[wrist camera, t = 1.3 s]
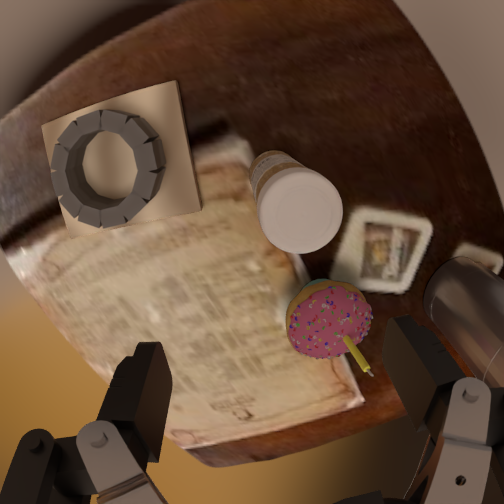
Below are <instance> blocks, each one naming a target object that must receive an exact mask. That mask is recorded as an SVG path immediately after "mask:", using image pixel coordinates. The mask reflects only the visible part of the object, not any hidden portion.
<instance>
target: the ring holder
mask: <svg viewBox="0 0 504 504" xmlns="http://www.w3.org/2000/svg"><path fill="white" fill-rule="evenodd" d="M42 131H43V137H44V142H45V146H46V151H47V156H48V160H49V164H50V169H51V173H50V175H51V179H52V182H53V186H54V190H55V194H56V197H58V199H59V203H60V206H61V210H62V213H63V216H64V220H65V223H66V226H67V229H68V232H69V235H70V238H71V239H73V238H77V237H81V236H86V235H90V234H94V233H98V232H103V231H107V230H112V229H116V228H121V227H125V226H130V225H135V224H139V223H144V222H149V221H154V220H158V219H163V218H168V217H173V216H178V215H183V214H189V213H194V212H199V211H201V210H202V208H203V207H202V203H201V198H200V193H199V189H198V184H197V179H196V174H195V169H194V165H193V160H192V155H191V150H190V145H189V139H188V134H187V129H186V124H185V119H184V113H183V108H182V103H181V97H180V92H179V86H178V82H177V81H176V80H174V81H170V82H166V83H162V84H159V85H155V86H151V87H148V88H144V89H140V90H137V91H134V92H130V93H127V94H124V95H121V96H118V97H114V98H111V99H108V100H106V101H103V102H100V103H97V104H94V105H91V106H89V107H86V108H83V109H81V110H78V111H75V112H73V113H70V114H68V115H65V116H63V117H60V118H58V119H56V120H53V121H51V122H49V123H46V124H44V125H42Z"/></svg>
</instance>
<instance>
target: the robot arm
mask: <svg viewBox="0 0 504 504" xmlns="http://www.w3.org/2000/svg"><path fill="white" fill-rule="evenodd" d="M423 305H424V310H425V312H426V314H427V315H428V316H429V317H430V319H431V320H432V321H433V322H434V323H435V325H436V326H437V327H438V328H439V330H440V331H441V332H442V333H443V335H444V336H445V337H446V338H447V340H448V341H449V342H450V344H451V345H452V346H453V347H454V349H455V350H456V351H457V352H458V354H459V355H460V356H461V358H462V359H463V360H464V362H465V363H466V364H467V366H468V367H469V368H470V370H471V371H472V372H473V374H474V375H475V376H476V378H477V379H476V378H471V377H466V376H465V374H464V373H463V371H462V370H461V369H460V367H459V366H458V364H457V363H456V362H455V360H454V359H453V358H452V356H451V355H450V354H449V352H448V351H446V348H445V347H444V345H443V344H441V341H440V340H439V339H438V338H437V336H436V335H435V334H434V333H433V332H432V331H430V330H429V329H427V328H426V327H424V326H418V325H417V323H416V322H415V321H414V319H413V318H412V317H411V316H410V315H404V316H398V317H393V318H390V319H389V320H388V323H387V328H386V334H385V339H384V344H383V350H382V359H383V364H384V367H385V369H386V371H387V373H388V375H389V377H390V379H391V381H392V383H393V385H394V387H395V389H396V391H397V393H398V395H399V397H400V399H401V401H402V403H403V405H404V407H405V409H406V411H407V413H408V415H409V417H410V419H411V422H412V423H413V426H414V428H415V430H416V432H419V431H423V430H426V429H428V431H429V433H430V436H429V437H428V440H427V443H426V446H425V449H424V452H423V455H422V458H421V461H420V464H419V467H418V469H417V472H416V475H415V477H414V480H413V482H412V484H411V486H410V488H409V489H408V491H407V493H406V495H405V497H404V499H397V498H383V497H382V494H381V491H380V490H378V491H375V492H371V493H367V494H363V495H359V496H355V497H350V498H346V499H343V500H341V501H338V502H336V503H334V504H481V502H482V498H483V494H484V490H485V485H486V480H487V475H488V471H489V465H490V466H491V468H492V470H493V473H494V475H495V477H496V480H497V482H498V484H499V487H500V489H501V492H502V494H503V497H504V280H503V279H501V278H500V277H499V276H497V275H496V274H495V273H494V272H492V271H491V270H490V269H488V268H487V267H486V266H484V265H483V264H482V263H480V262H478V263H475V262H473V261H472V260H471V259H469V258H466V257H457V258H453V259H451V260H449V261H447V262H446V263H445V264H443V265H442V266H441V267H440V268H439V269H438V270H437V271H436V272H435V273H434V275H433V276H432V277H431V279H430V281H429V283H428V285H427V287H426V290H425V294H424V300H423ZM109 386H110V388H108V390H107V393H106V395H105V399H104V401H103V403H102V406H101V409H100V411H99V414H98V417H97V419H96V421H93V422H90V423H88V424H86V425H85V426H84V427H83V428H82V429H81V430H80V431H79V433H78V435H77V436H73V437H66V438H57V439H54V437H53V436H52V435H51V434H50V433H49V432H48V431H46V430H44V429H34V430H31V431H29V432H27V433H26V434H25V435H24V436H23V437H22V438H21V440H20V442H19V444H18V447H17V449H16V452H15V454H14V457H13V459H12V462H11V465H10V468H9V470H8V473H7V476H6V478H5V481H4V484H3V487H2V490H1V493H0V504H90V500H91V495H92V494H99V497H97V503H98V504H168V502H167V501H166V500H165V498H164V497H163V496H162V494H161V493H160V492H159V490H158V488H157V487H156V486H155V484H154V483H153V481H152V480H151V478H150V477H149V475H148V474H147V473H146V468H147V463H148V462H155V463H158V462H159V457H160V452H161V446H162V440H163V435H164V429H165V424H166V418H167V413H168V408H169V403H170V398H171V393H172V375H171V371H170V368H169V365H168V362H167V359H166V356H165V353H164V350H163V347H162V344H161V343H160V342H139V343H138V345H137V347H136V350H135V352H134V355H133V356H126V357H125V358H124V359H123V360H122V362H121V363H120V364H119V365H118V366H117V368H116V370H115V373H114V375H113V379H112V380H111V383H110V385H109Z"/></svg>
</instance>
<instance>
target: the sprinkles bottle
mask: <svg viewBox="0 0 504 504" xmlns="http://www.w3.org/2000/svg"><path fill="white" fill-rule="evenodd" d="M249 179H250V183H251V185H252V189H253V194H254V197H255V201H256V203H257V215H258V219H259V222H260V225H261V228H262V230H263V232H264V234H265V236H266V237H267V238H268V240H269V241H270V242H271V243H272V244H273V245H275V246H276V247H278V248H279V249H281V250H283V251H286V252H290V253H296V254H303V253H309V252H313V251H315V250H318V249H320V248H321V247H323V246H325V245H326V244H327V243H328V242H329V241H330V240H331V239H332V238H333V237H334V236H335V234H336V233H337V231H338V229H339V227H340V224H341V221H342V215H343V207H342V201H341V198H340V195H339V193H338V191H337V190H336V188H335V187H334V185H333V184H332V183H331V182H330V181H328V180H327V179H326V178H325V177H323V176H322V175H320V174H319V173H317V172H315V171H313V170H311V169H308V168H306V167H305V166H303V165H302V164H300V163H299V162H297V161H296V160H294V159H293V158H291V157H290V156H289V155H288V154H286V153H284V152H282V151H276V150H273V151H267V152H264V153H262V154H261V155H259V156H258V157H257V158H256V159H255V160H254V161H253V163H252V165H251V167H250V174H249Z"/></svg>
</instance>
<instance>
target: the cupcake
mask: <svg viewBox="0 0 504 504" xmlns="http://www.w3.org/2000/svg"><path fill="white" fill-rule="evenodd" d="M371 314H372V312H371V306H370V305H369V304H367V302H366V300H365V298H364V296H363V294H362V293H361V292H360V291H359V290H358V289H357V288H356V287H355V286H354V285H352V284H350V283H346V282H339V281H332V280H329V279H317V280H313V281H311V282H309V283H308V284H307V285H305V286H304V287H303V289H302V290H301V292H300V293H299V294H298V295H297V296H296V297H295V298H294V299H293V300H292V301H291V302H290V304H289V306H288V309H287V312H286V330H287V337H288V339H289V341H290V343H291V345H292V346H293V348H294V349H295V350H296V351H298V352H300V353H301V354H302V355H303V354H305V356H310V357H316V359H319V358H322V359H323V358H328V359H331V358H333V357H339V356H340V355H342V354H343V353H346V352H350V351H351V353H352V354H353V356H354V357H355V359H356V360H357V362H358V364H359V365H360V367H361V368H362V370H363V371H364V372H368V373H369V374H370V375H371V376H373V374H372V373H371V371H370V370H369V369H370V366H369V365H368V363H367V362H366V360H365V359H364V357H363V356H362V354H361V353H360V352H359V350H358V349H357V347H356V344H357V343H360V342H361V340H363V338H364V335H367V334H366V333H367V331H368V330H369V329H370V326H371V325H370V324H371V319H373V316H372V315H371ZM371 316H372V318H371ZM368 327H369V329H368ZM349 350H350V351H349Z"/></svg>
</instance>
